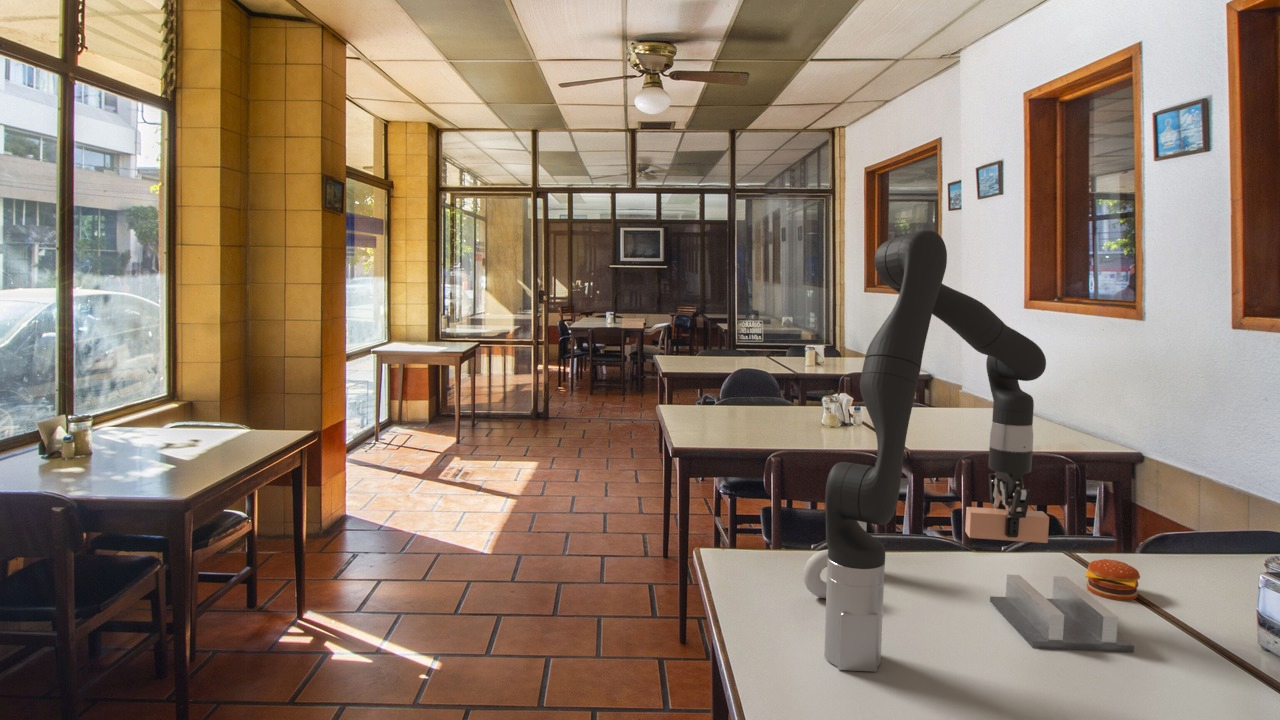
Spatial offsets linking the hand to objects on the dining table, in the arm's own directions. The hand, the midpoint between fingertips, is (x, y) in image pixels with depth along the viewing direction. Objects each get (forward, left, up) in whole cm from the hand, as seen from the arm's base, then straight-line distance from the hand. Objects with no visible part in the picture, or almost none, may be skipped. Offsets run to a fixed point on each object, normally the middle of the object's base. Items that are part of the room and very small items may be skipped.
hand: (1006, 532), depth 152 cm
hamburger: (+11, -26, -16) cm, 33 cm away
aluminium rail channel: (-7, -7, -15) cm, 18 cm away
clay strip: (0, 0, -1) cm, 1 cm away
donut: (+2, +34, -16) cm, 37 cm away
